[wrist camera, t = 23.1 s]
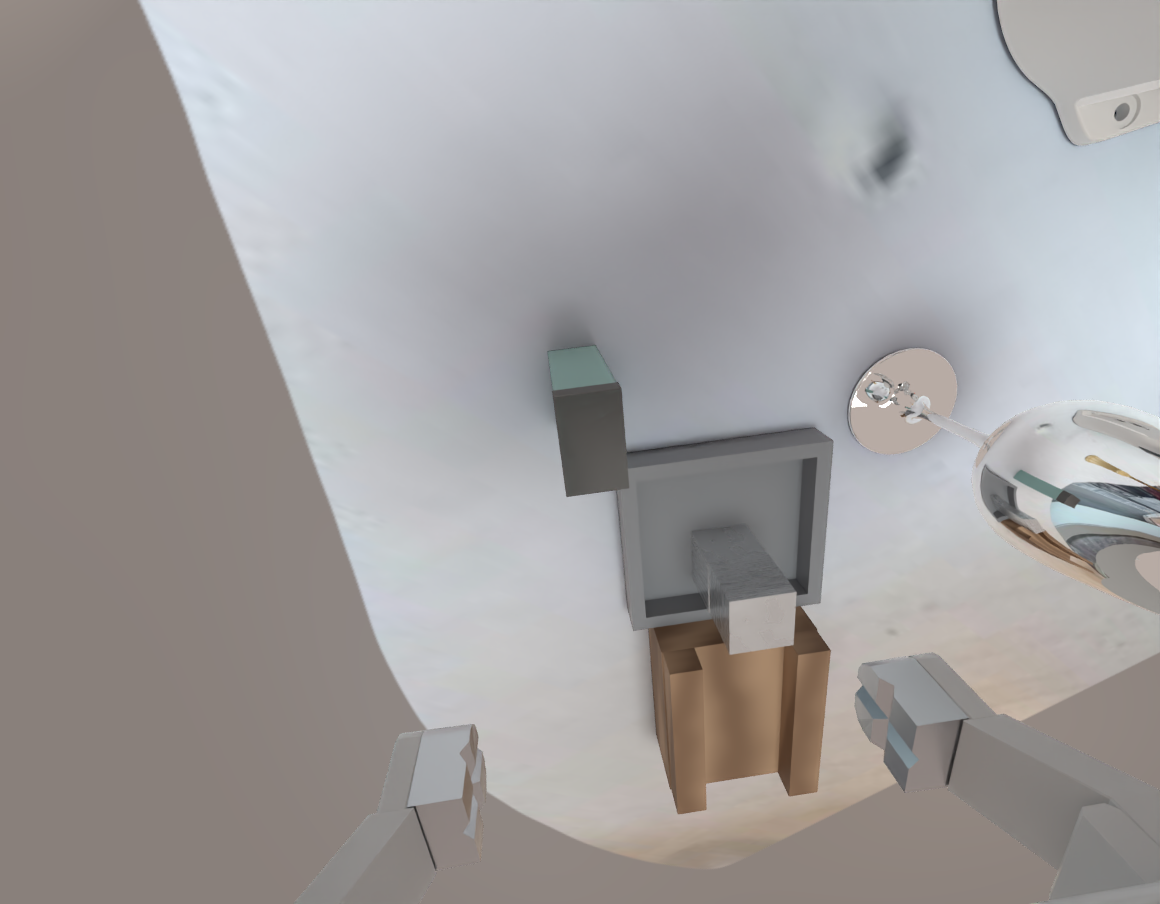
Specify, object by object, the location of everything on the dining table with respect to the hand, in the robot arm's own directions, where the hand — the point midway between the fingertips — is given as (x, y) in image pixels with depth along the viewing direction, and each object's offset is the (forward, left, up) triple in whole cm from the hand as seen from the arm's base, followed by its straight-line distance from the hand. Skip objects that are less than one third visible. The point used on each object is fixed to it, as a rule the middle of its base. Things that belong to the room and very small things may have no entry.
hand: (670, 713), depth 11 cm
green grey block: (0, 0, -25) cm, 25 cm away
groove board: (-9, +25, -25) cm, 37 cm away
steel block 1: (-9, +15, -22) cm, 29 cm away
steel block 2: (-9, +13, -20) cm, 26 cm away
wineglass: (-22, +4, -25) cm, 34 cm away
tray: (-9, +11, -25) cm, 29 cm away
